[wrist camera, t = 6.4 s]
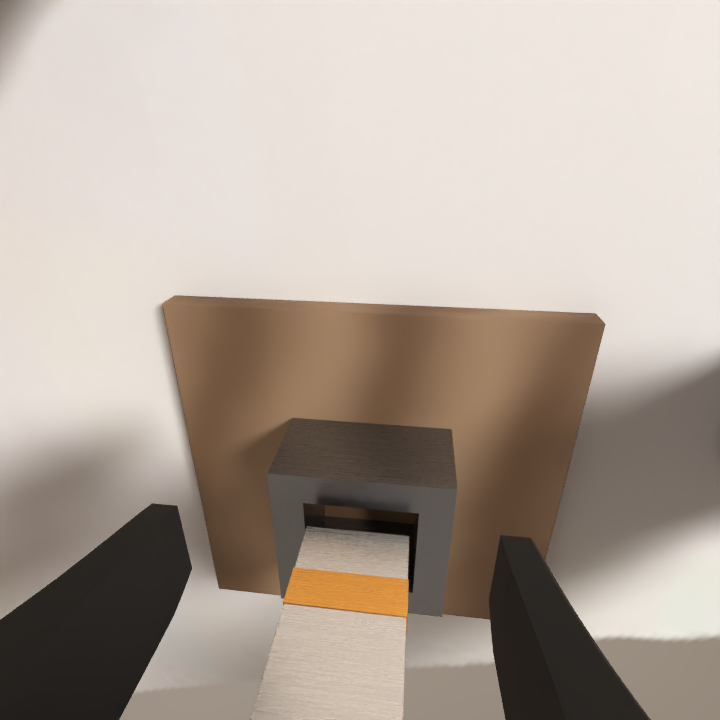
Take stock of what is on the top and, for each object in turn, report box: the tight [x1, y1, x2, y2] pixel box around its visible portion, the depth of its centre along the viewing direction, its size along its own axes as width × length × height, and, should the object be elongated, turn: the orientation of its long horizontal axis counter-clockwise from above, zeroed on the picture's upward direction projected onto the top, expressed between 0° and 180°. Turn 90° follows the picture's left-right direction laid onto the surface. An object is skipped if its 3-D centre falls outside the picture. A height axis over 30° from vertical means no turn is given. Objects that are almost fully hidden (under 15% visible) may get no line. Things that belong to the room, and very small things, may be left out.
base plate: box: [162, 296, 605, 619], centre depth 21 cm, size 16×16×1 cm
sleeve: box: [267, 418, 458, 617], centre depth 19 cm, size 6×6×4 cm
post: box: [250, 526, 409, 720], centre depth 14 cm, size 4×4×7 cm
